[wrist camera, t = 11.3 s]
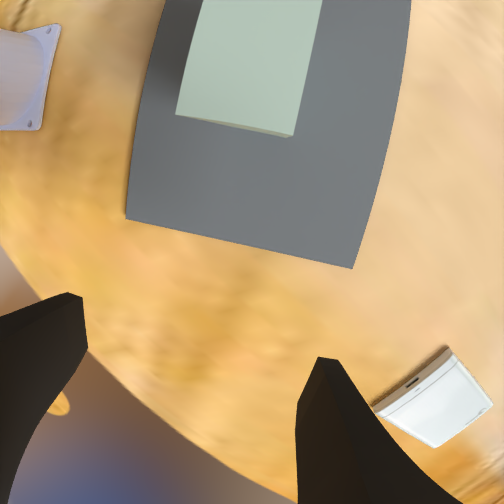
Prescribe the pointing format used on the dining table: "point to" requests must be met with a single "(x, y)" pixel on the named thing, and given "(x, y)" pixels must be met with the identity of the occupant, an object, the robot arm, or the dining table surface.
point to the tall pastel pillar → (249, 63)
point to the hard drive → (436, 401)
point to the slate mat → (275, 141)
